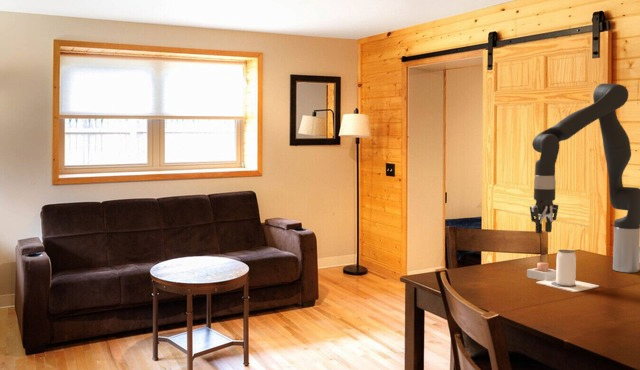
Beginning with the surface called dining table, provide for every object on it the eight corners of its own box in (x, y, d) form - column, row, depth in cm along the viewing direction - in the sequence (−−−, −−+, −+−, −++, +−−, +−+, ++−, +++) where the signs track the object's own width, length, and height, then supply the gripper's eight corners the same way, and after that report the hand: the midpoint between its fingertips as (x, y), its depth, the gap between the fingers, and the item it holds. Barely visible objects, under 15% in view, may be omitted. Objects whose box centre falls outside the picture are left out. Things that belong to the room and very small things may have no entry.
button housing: (540, 274, 238) (540, 266, 238) (558, 278, 231) (558, 270, 231) (526, 277, 234) (527, 269, 233) (544, 281, 227) (544, 273, 227)
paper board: (560, 278, 232) (560, 277, 232) (599, 286, 218) (599, 285, 218) (535, 283, 224) (535, 281, 224) (574, 292, 211) (574, 290, 211)
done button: (541, 272, 235) (541, 262, 235) (550, 274, 232) (550, 263, 231) (534, 273, 233) (535, 263, 233) (543, 275, 230) (544, 265, 229)
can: (577, 286, 217) (578, 253, 216) (557, 286, 218) (558, 252, 217) (573, 282, 223) (574, 249, 222) (554, 281, 224) (555, 249, 223)
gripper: (540, 189, 223) (539, 235, 224) (565, 187, 230) (564, 232, 232) (523, 187, 229) (522, 233, 230) (548, 185, 237) (547, 229, 238)
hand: (543, 232), depth 231 cm, fingers open, 5 cm apart
